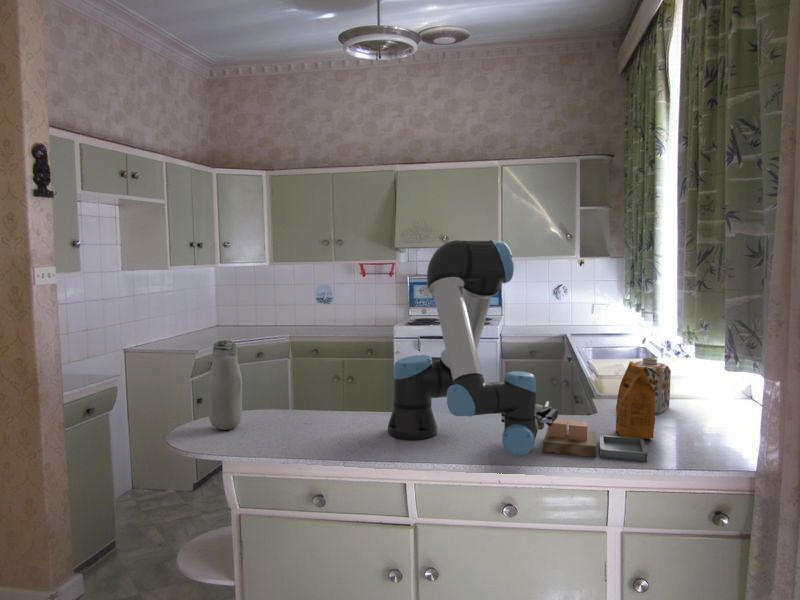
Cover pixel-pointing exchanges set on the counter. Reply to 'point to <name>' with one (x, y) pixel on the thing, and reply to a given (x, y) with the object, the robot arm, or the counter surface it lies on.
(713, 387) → the counter surface
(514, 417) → the robot arm
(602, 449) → the tray
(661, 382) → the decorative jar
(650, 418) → the coffee package
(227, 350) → the glass bottle
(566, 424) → the salmon pink block
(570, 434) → the salmon orange block
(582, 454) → the board
